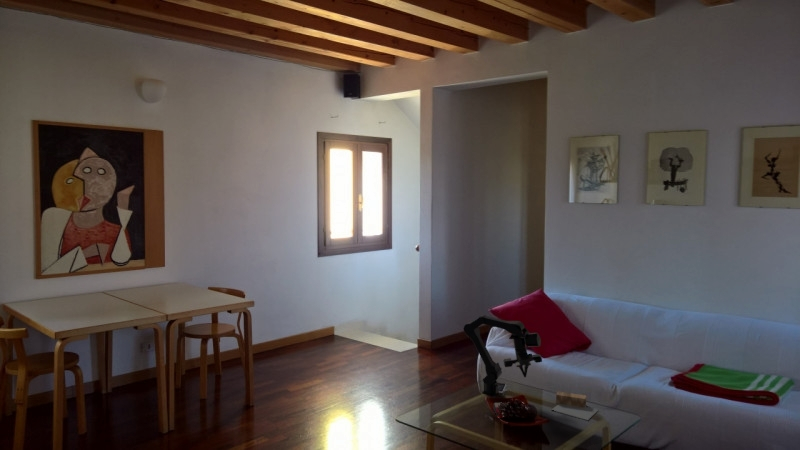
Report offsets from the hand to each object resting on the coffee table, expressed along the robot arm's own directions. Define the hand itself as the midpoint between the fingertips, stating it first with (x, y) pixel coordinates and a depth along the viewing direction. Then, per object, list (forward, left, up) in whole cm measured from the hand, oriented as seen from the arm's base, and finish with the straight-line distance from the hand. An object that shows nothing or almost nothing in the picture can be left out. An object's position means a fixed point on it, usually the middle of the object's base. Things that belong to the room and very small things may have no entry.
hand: (525, 377), depth 299 cm
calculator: (+2, -19, -12) cm, 23 cm away
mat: (+25, +3, -12) cm, 28 cm away
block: (+14, +7, -9) cm, 18 cm away
